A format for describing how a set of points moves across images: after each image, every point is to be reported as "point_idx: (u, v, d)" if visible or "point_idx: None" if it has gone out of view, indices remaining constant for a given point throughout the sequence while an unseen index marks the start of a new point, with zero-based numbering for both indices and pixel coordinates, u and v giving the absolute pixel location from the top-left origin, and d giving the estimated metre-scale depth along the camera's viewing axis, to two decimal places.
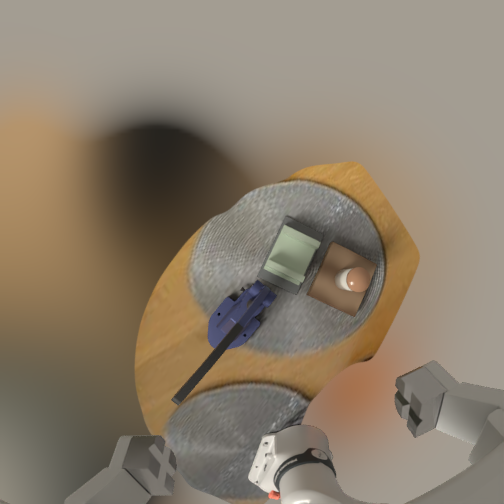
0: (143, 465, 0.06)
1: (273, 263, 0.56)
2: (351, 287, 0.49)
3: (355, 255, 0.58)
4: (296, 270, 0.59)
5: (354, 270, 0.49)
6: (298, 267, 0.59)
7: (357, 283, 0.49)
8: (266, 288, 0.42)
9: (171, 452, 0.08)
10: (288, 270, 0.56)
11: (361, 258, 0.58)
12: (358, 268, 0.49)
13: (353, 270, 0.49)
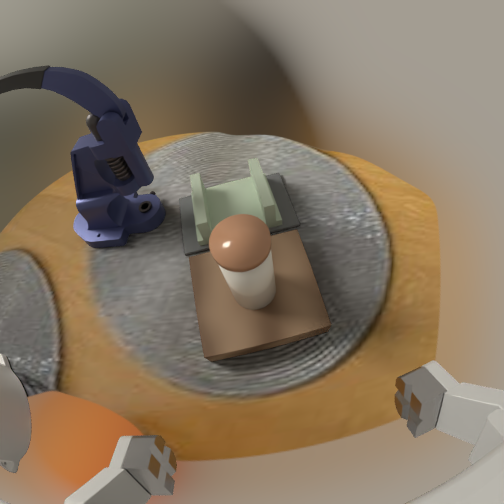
0: (143, 465, 0.06)
1: (197, 180, 0.34)
2: (212, 237, 0.21)
3: (309, 275, 0.28)
4: (216, 223, 0.34)
5: (249, 218, 0.21)
6: None
7: (228, 241, 0.21)
8: (114, 97, 0.22)
9: (171, 452, 0.08)
10: (200, 198, 0.33)
11: (314, 289, 0.27)
12: (259, 222, 0.21)
13: (248, 217, 0.21)
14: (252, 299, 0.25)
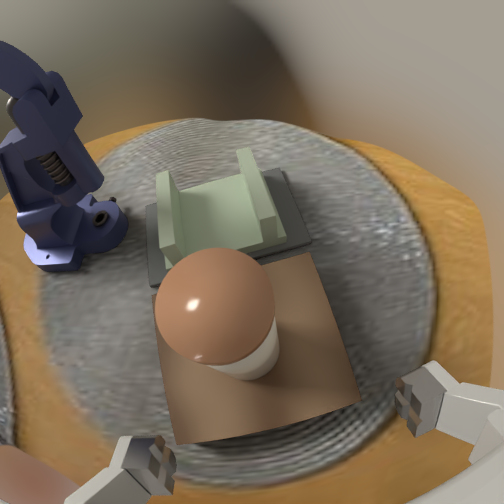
0: (143, 465, 0.06)
1: (165, 180, 0.24)
2: (161, 294, 0.11)
3: (330, 326, 0.18)
4: (192, 242, 0.24)
5: (232, 257, 0.11)
6: (200, 241, 0.24)
7: (191, 307, 0.10)
8: (36, 67, 0.11)
9: (171, 452, 0.08)
10: (167, 208, 0.22)
11: (337, 347, 0.17)
12: (251, 265, 0.11)
13: (229, 254, 0.11)
14: (242, 376, 0.15)
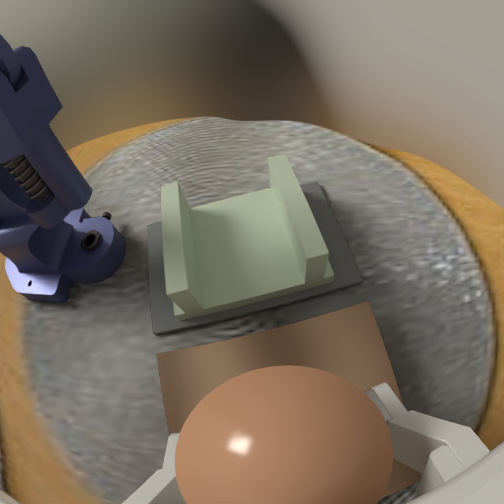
0: None
1: (173, 196, 0.18)
2: (185, 449, 0.05)
3: None
4: (209, 280, 0.18)
5: (319, 387, 0.05)
6: (220, 279, 0.18)
7: (245, 476, 0.04)
8: None
9: None
10: (177, 235, 0.16)
11: None
12: (357, 401, 0.05)
13: (313, 380, 0.05)
14: None
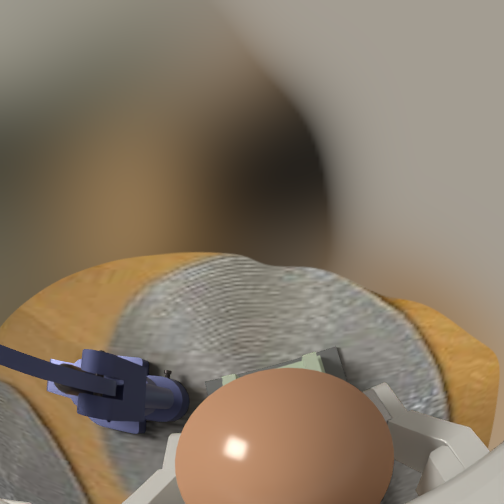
0: None
1: None
2: (186, 452, 0.05)
3: None
4: None
5: (320, 389, 0.05)
6: None
7: (245, 479, 0.04)
8: (89, 380, 0.11)
9: None
10: None
11: None
12: (358, 404, 0.05)
13: (314, 383, 0.05)
14: None
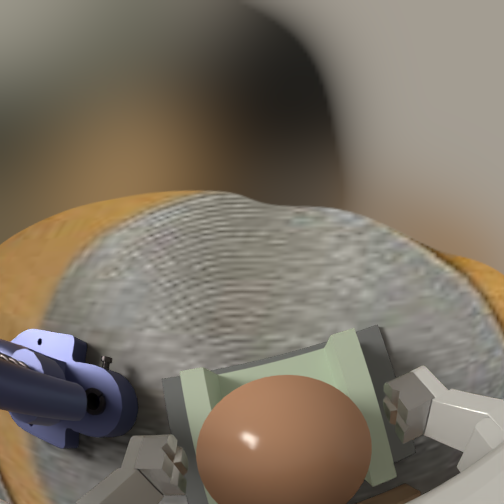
0: (156, 465, 0.06)
1: (201, 394, 0.12)
2: (205, 442, 0.06)
3: None
4: None
5: (312, 392, 0.07)
6: None
7: (253, 463, 0.06)
8: None
9: (183, 451, 0.08)
10: None
11: None
12: (342, 404, 0.06)
13: (307, 386, 0.07)
14: None
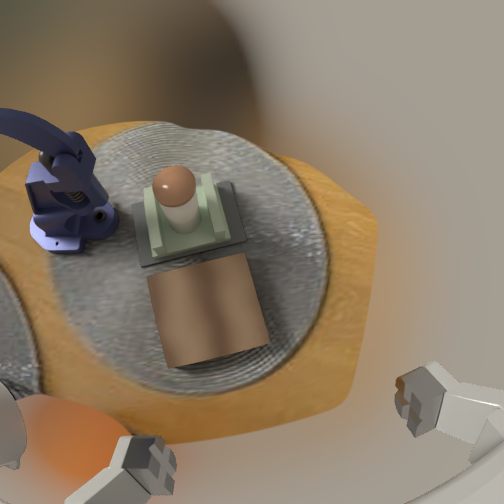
0: (143, 465, 0.06)
1: (151, 195, 0.34)
2: (154, 182, 0.28)
3: (253, 299, 0.33)
4: (169, 238, 0.35)
5: (181, 169, 0.28)
6: (175, 238, 0.36)
7: (166, 186, 0.28)
8: (67, 138, 0.19)
9: (171, 452, 0.08)
10: (155, 218, 0.33)
11: (257, 311, 0.33)
12: (188, 172, 0.28)
13: (180, 168, 0.28)
14: (182, 226, 0.33)
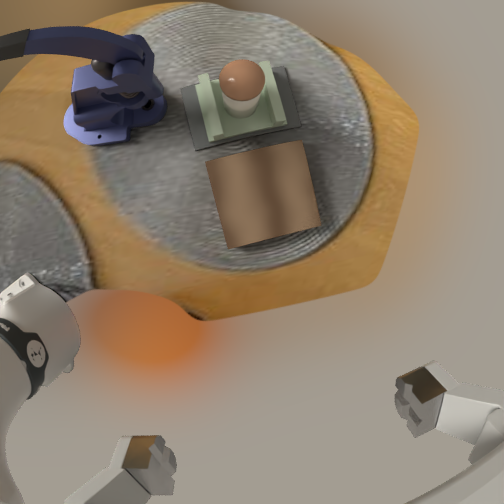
0: (143, 465, 0.06)
1: (207, 82, 0.29)
2: (221, 76, 0.24)
3: (309, 184, 0.35)
4: (225, 123, 0.33)
5: (249, 63, 0.24)
6: (231, 122, 0.33)
7: (234, 80, 0.24)
8: (131, 44, 0.16)
9: (171, 452, 0.08)
10: (213, 106, 0.30)
11: (311, 196, 0.35)
12: (256, 66, 0.24)
13: (247, 62, 0.24)
14: (242, 113, 0.31)
